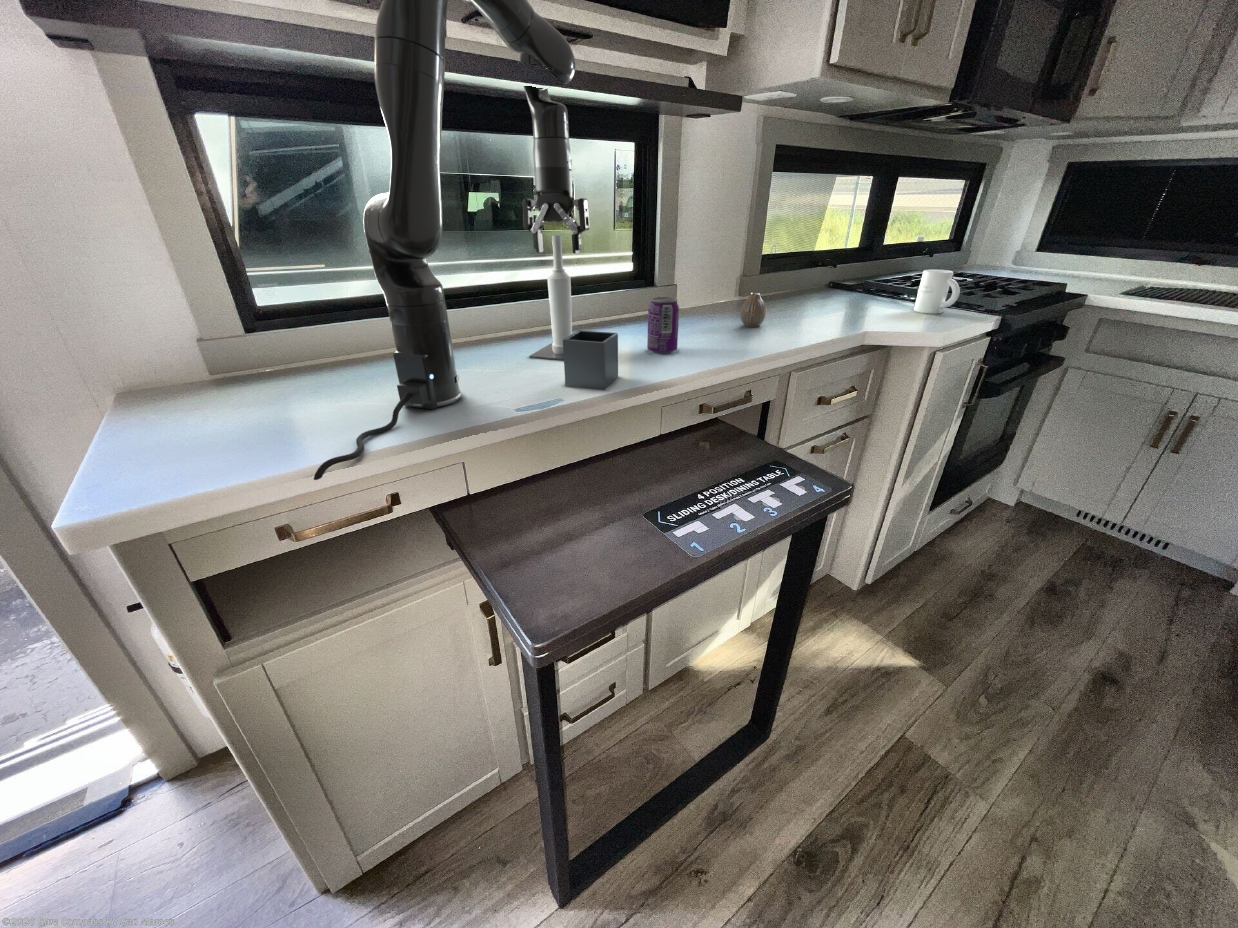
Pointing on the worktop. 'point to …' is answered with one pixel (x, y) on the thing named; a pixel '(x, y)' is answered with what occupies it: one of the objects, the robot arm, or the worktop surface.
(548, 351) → the coaster
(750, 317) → the vase
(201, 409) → the worktop surface
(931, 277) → the mug
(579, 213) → the robot arm
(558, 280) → the bottle
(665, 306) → the beverage can
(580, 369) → the caddy
